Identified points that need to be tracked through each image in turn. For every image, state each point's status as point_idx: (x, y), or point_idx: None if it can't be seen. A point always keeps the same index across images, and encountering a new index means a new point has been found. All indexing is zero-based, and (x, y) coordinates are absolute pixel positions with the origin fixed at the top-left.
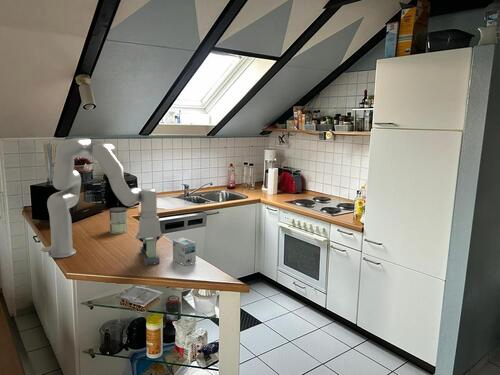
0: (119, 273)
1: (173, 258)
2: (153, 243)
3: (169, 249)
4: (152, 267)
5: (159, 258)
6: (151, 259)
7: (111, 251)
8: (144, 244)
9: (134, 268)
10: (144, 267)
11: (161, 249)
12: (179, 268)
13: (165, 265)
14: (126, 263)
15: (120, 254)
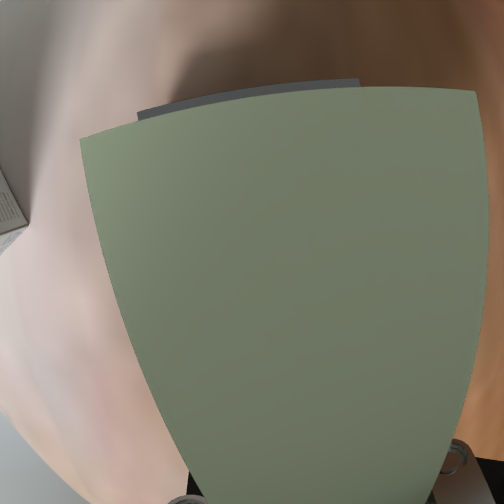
0: (500, 3)
1: (8, 215)
2: (219, 182)
3: (120, 480)
4: (249, 18)
5: (141, 113)
6: (267, 88)
7: (496, 440)
8: None
9: (431, 46)
10: (340, 37)
11: (181, 492)
12: (7, 14)
13: (99, 67)
14: (496, 205)
15: (481, 408)
